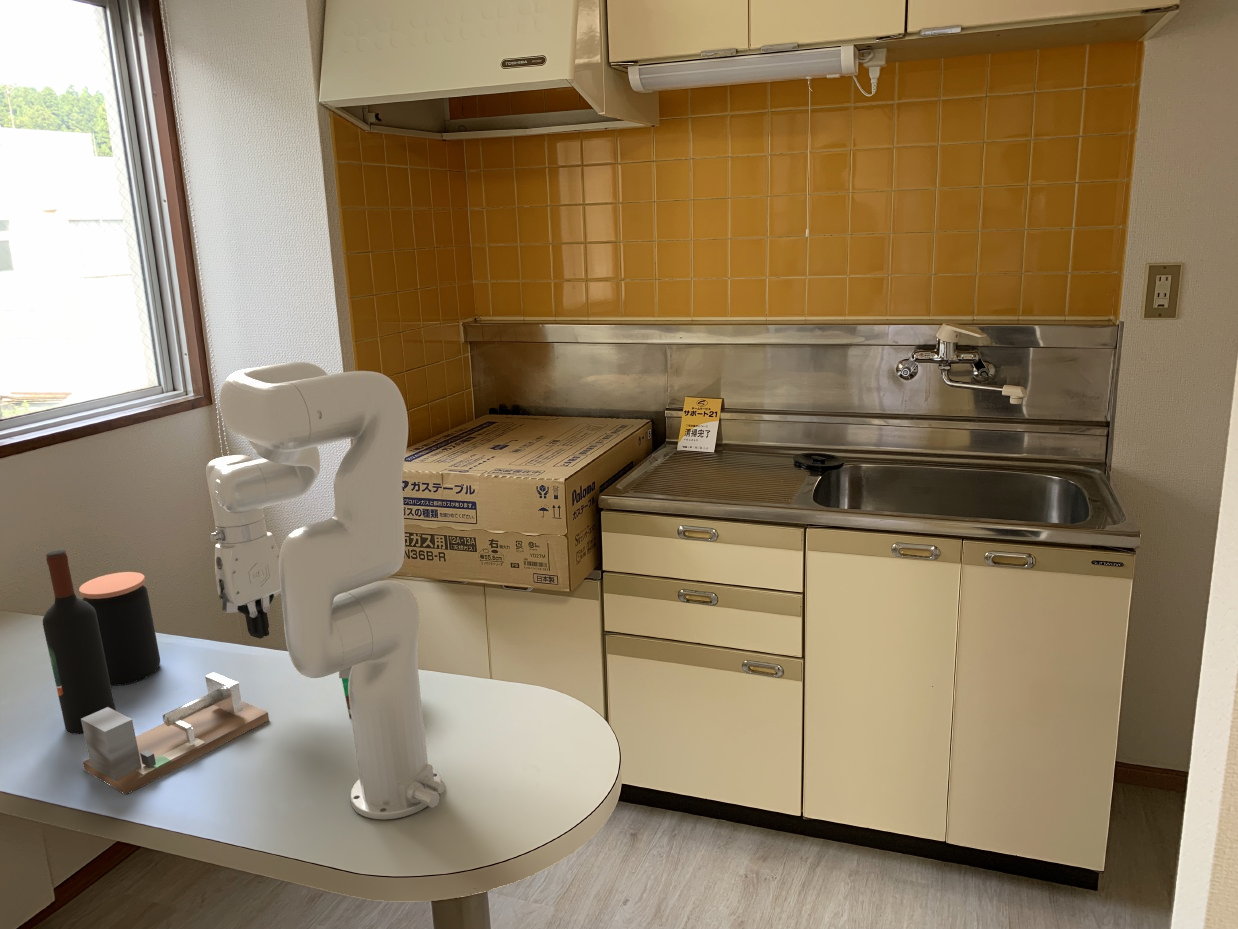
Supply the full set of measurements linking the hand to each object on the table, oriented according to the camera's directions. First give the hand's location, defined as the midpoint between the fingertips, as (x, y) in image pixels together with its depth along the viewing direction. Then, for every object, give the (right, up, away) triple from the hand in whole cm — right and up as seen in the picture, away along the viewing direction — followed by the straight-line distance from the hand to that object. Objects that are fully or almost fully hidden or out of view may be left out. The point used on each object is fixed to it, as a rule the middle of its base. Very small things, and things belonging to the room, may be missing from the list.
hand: (259, 635), depth 158 cm
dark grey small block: (-10, -16, -18) cm, 26 cm away
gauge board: (-9, -16, -9) cm, 20 cm away
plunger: (-7, -13, -7) cm, 16 cm away
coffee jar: (-30, -10, +16) cm, 36 cm away
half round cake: (+20, -12, +1) cm, 23 cm away
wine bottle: (-28, -15, -1) cm, 31 cm away
